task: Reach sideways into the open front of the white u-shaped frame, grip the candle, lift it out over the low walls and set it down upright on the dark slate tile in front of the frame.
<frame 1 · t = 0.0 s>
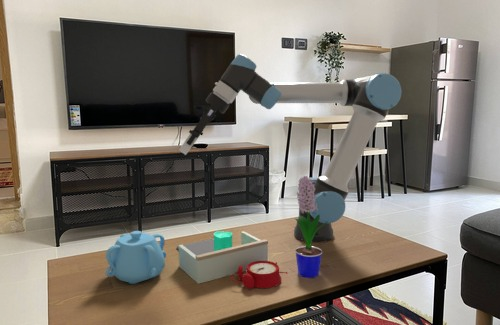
hand: (184, 150, 126), 36 cm above the table, tool tilted 35°, fingers open, 13 cm apart
candle: (223, 265, 120), on the table
hyacinth: (310, 274, 114), on the table
white u-shaped frame: (223, 265, 120), on the table
decorative pot: (138, 275, 114), on the table
slate tile: (202, 250, 133), on the table
alarm clock: (257, 282, 110), on the table
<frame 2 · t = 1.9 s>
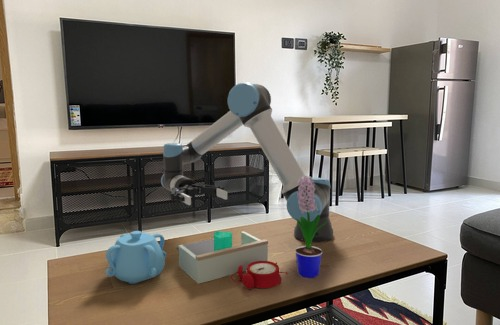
hand: (208, 198, 125), 20 cm above the table, tool horizontal, fingers open, 13 cm apart
nothing on the table moved.
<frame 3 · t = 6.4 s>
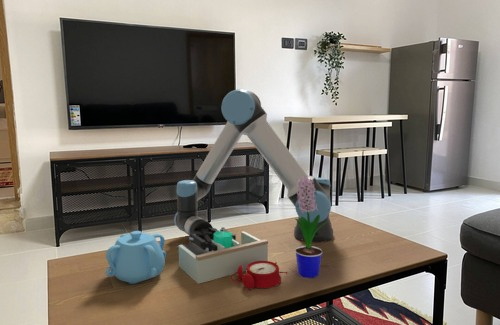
hand: (231, 249, 115), 7 cm above the table, tool horizontal, fingers closed on candle, 5 cm apart
candle: (223, 265, 120), on the table, touching gripper
everything else where it was.
when the fingers open (9 cm above the table, at t = 12.0 s): candle drops 1 cm, resting on slate tile.
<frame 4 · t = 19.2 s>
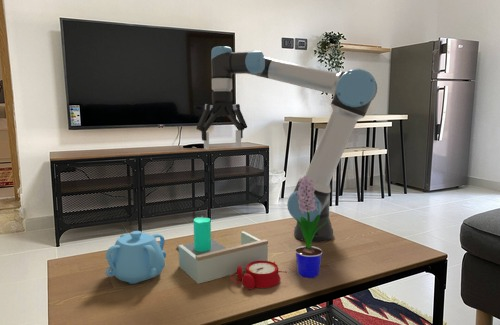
hand: (222, 148, 141), 35 cm above the table, tool pointing down, fingers open, 13 cm apart
candle: (202, 248, 133), point 1 cm above the table, touching slate tile
everything else where it was.
at the end: candle inside the target area on the slate tile (0.0 cm from its centre), point 0.6 cm above the slate tile's base; candle tilted 0°; the gripper is holding nothing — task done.
